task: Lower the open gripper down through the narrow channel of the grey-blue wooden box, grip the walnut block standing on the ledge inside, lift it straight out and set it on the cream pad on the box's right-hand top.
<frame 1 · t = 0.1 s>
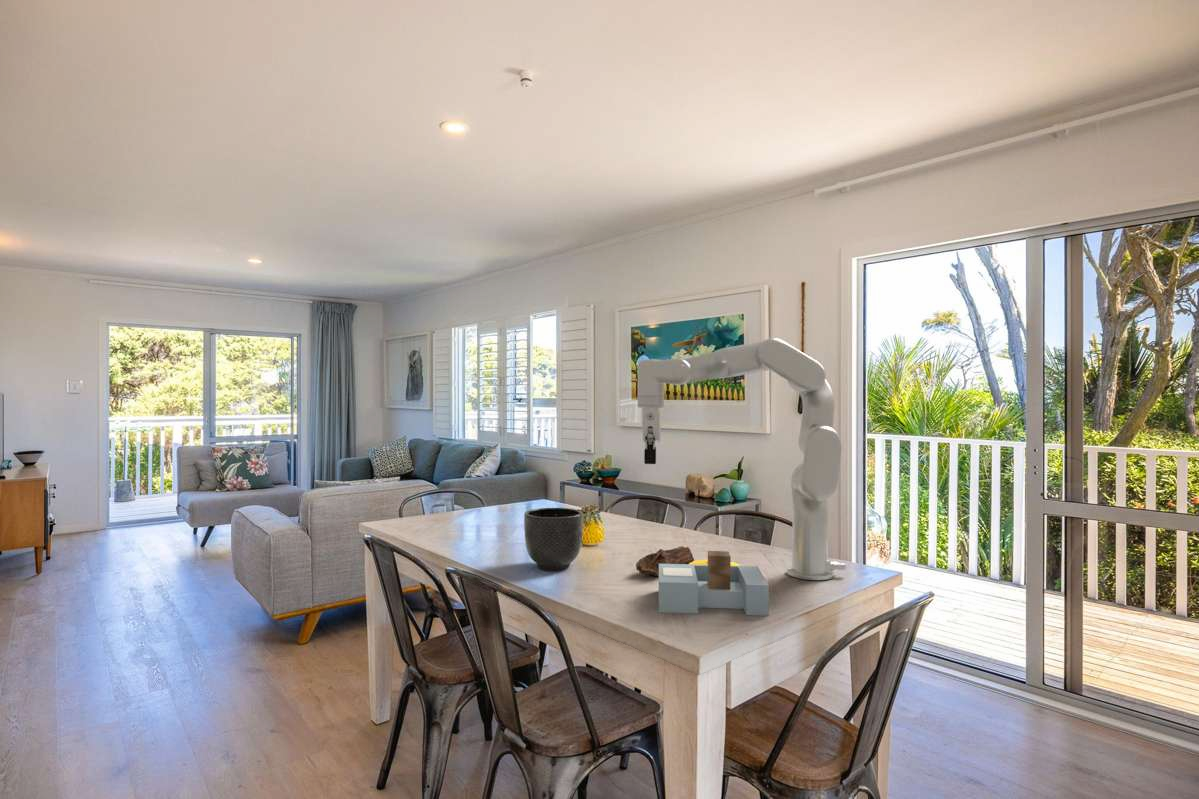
hand: (650, 462, 190), 31 cm above the table, fingers open, 9 cm apart
yellow piece: (715, 580, 182), on the table
slot box: (710, 602, 161), on the table
driftwood: (667, 572, 190), on the table
walnut block: (718, 586, 161), point 4 cm above the table, touching slot box
planter: (553, 567, 194), on the table
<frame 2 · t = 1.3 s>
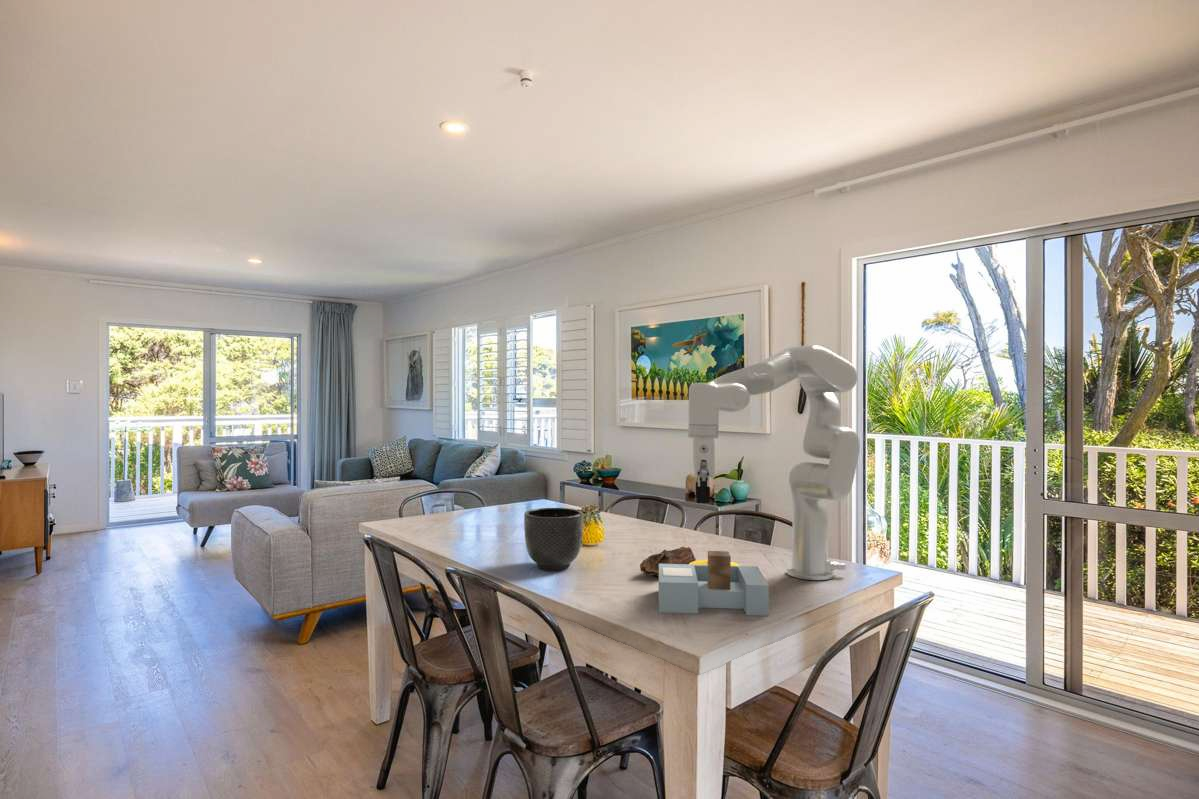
hand: (702, 499, 167), 24 cm above the table, fingers open, 9 cm apart
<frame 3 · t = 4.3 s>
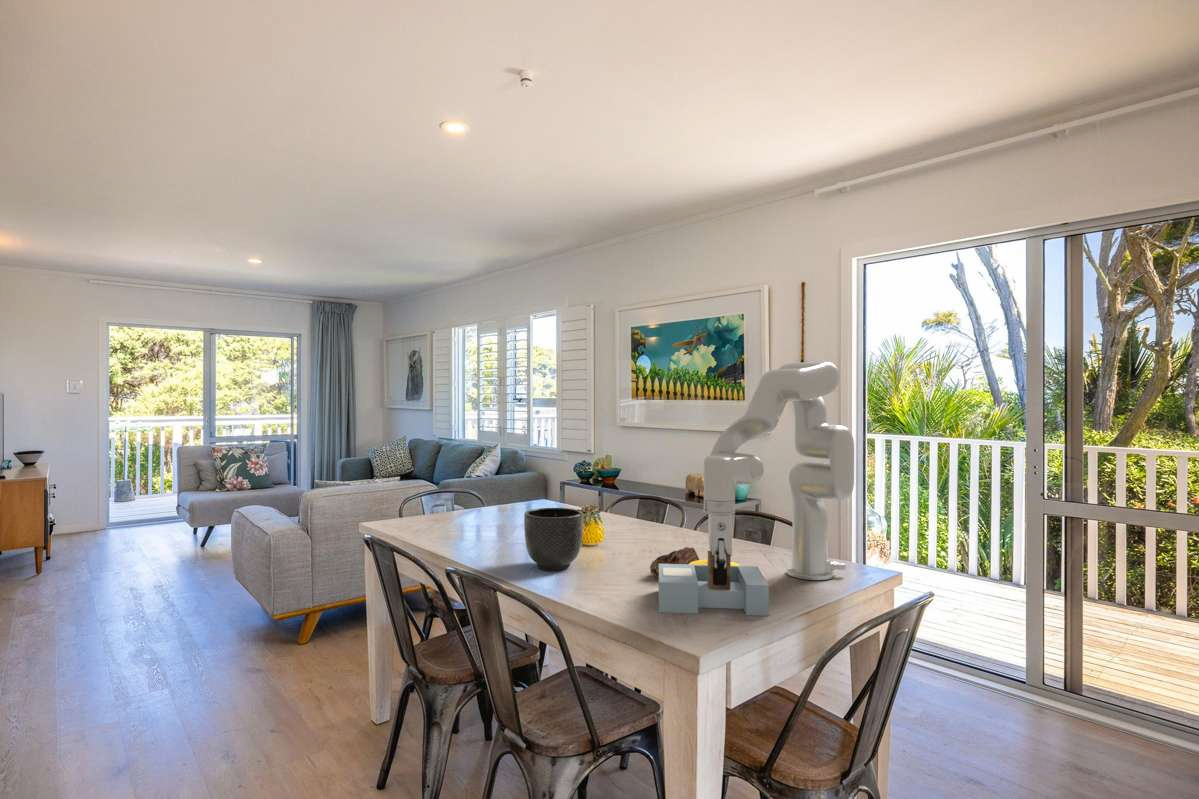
hand: (718, 580, 161), 5 cm above the table, fingers closed on walnut block, 5 cm apart
driftwood: (677, 573, 189), on the table
walnut block: (718, 586, 161), point 4 cm above the table, touching gripper, slot box
everything else where it was.
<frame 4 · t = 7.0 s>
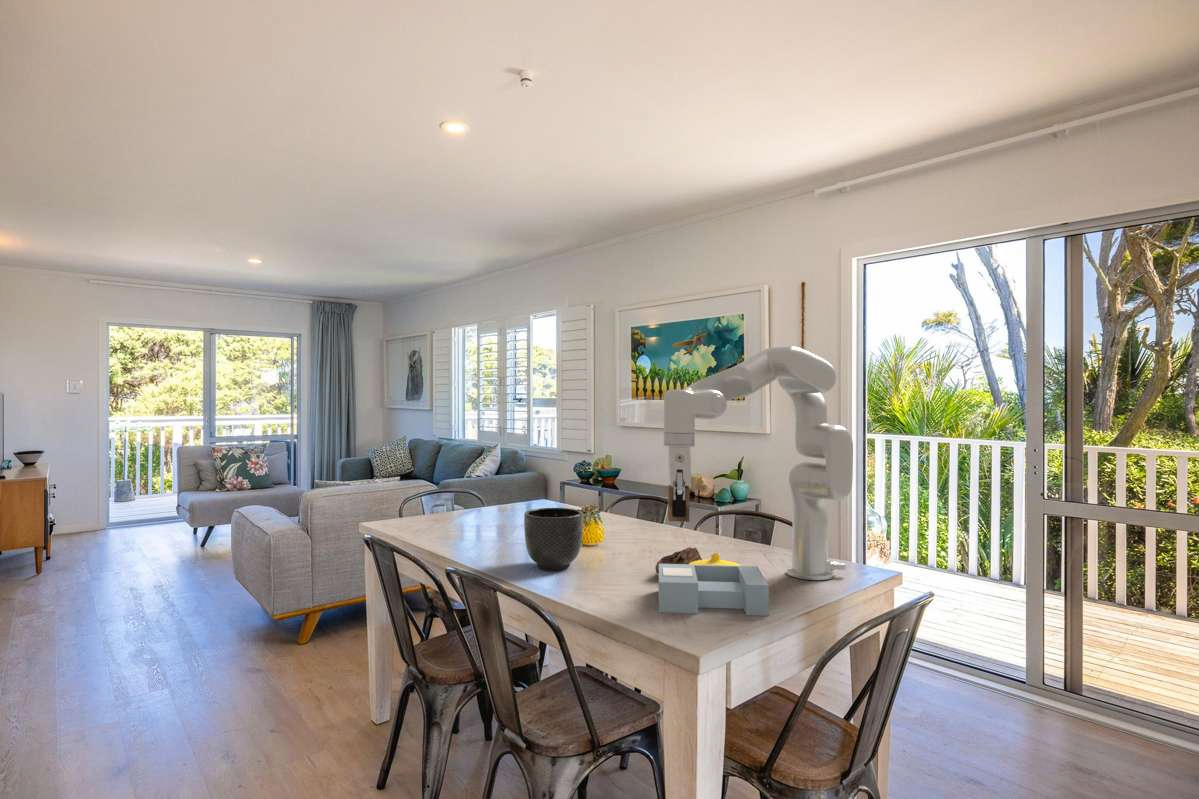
hand: (678, 513, 162), 21 cm above the table, fingers closed on walnut block, 5 cm apart
yellow piece: (715, 580, 182), on the table, touching driftwood
driftwood: (682, 574, 188), on the table, touching yellow piece
walnut block: (678, 519, 162), point 20 cm above the table, touching gripper
everything else where it was.
when the fingers open (10 cm above the table, at t = 9.5 s): walnut block drops 1 cm, resting on slot box.
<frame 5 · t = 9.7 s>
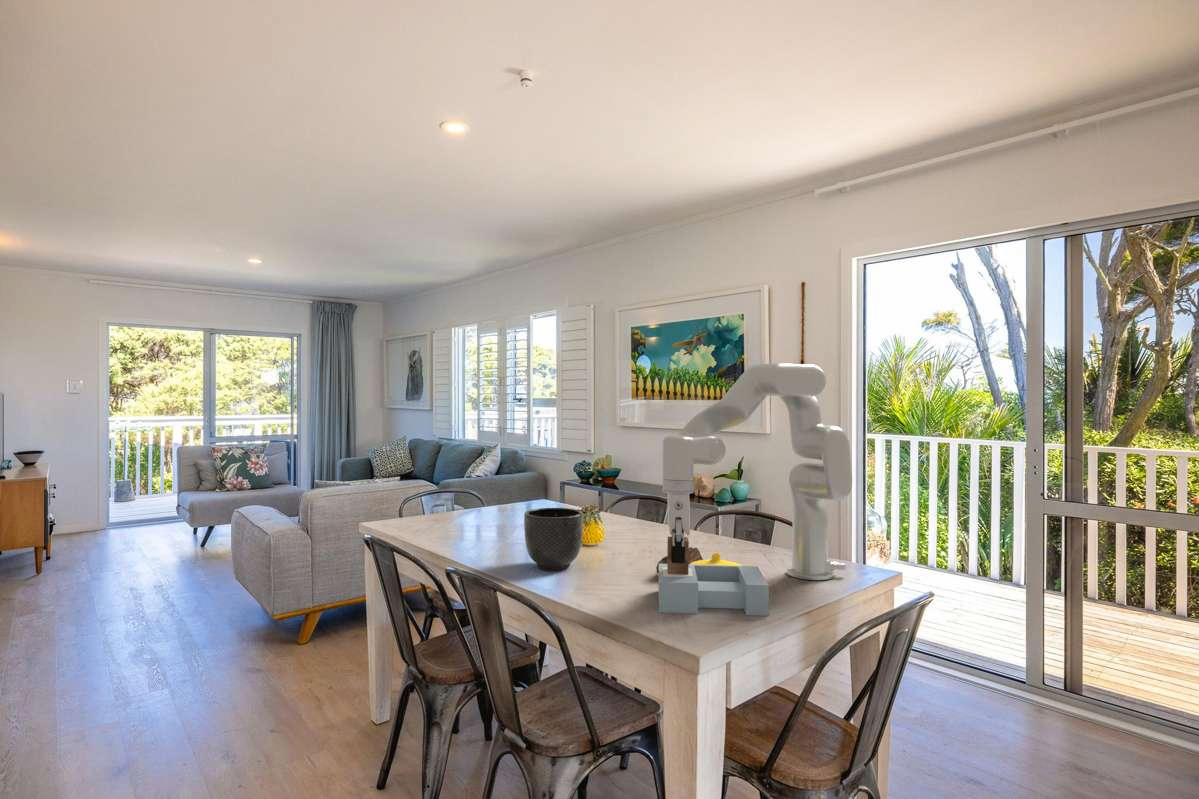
hand: (677, 558, 162), 11 cm above the table, fingers open, 7 cm apart
yellow piece: (716, 580, 182), on the table
driftwood: (682, 574, 188), on the table
walnut block: (677, 571, 162), point 7 cm above the table, touching slot box
everything else where it was.
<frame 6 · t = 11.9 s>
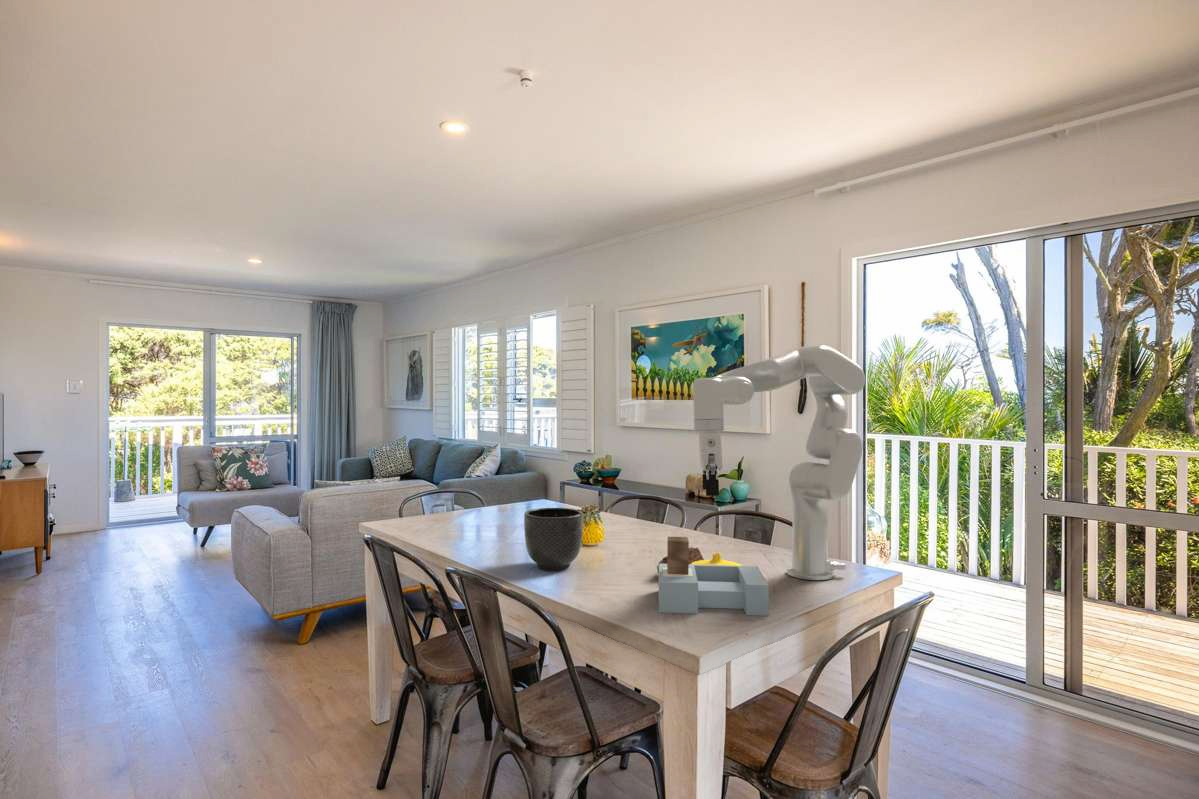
hand: (710, 492, 171), 25 cm above the table, fingers open, 9 cm apart
yellow piece: (716, 580, 182), on the table, touching driftwood
driftwood: (683, 574, 188), on the table, touching yellow piece
everything else where it was.
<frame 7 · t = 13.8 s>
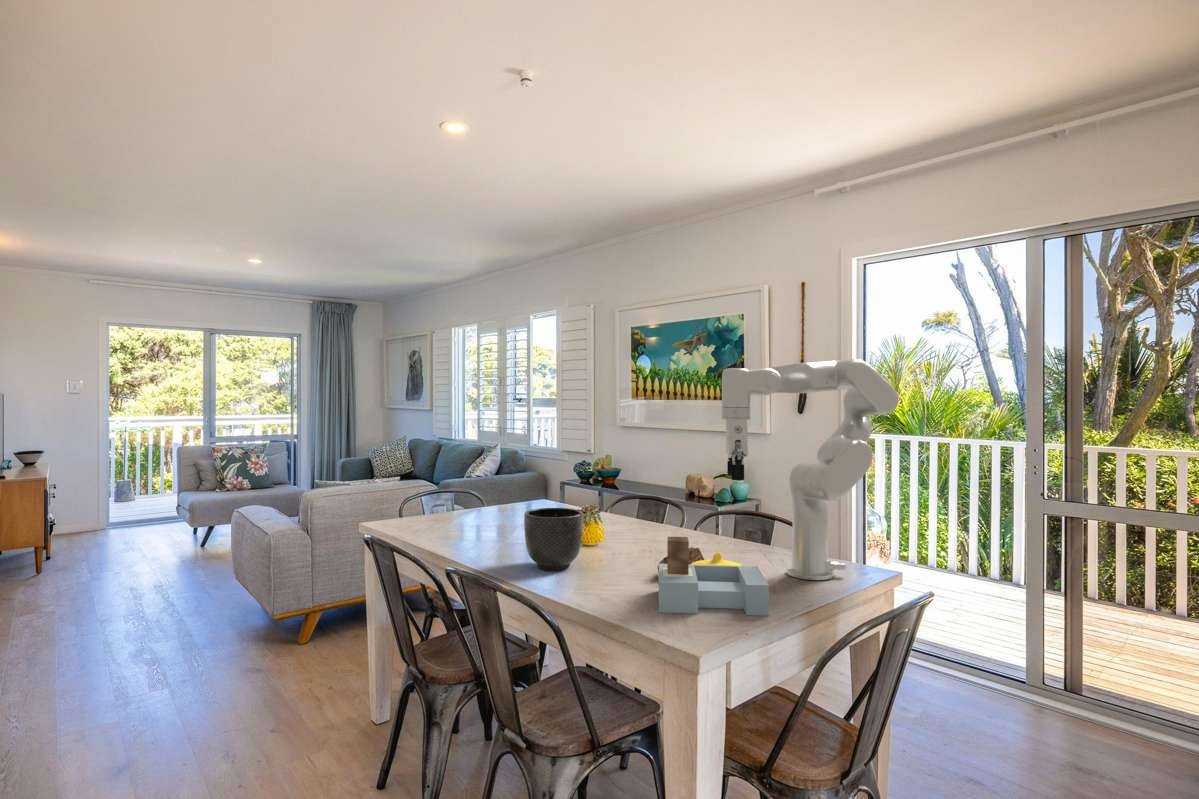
hand: (735, 477, 178), 28 cm above the table, fingers open, 9 cm apart
nothing on the table moved.
at the end: walnut block inside the target area on the slot box (0.1 cm from its centre), point 7.3 cm above the slot box's base; walnut block tilted 0°; the gripper is holding nothing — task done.
